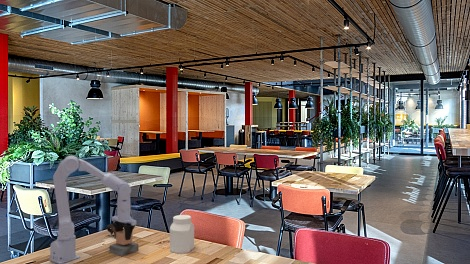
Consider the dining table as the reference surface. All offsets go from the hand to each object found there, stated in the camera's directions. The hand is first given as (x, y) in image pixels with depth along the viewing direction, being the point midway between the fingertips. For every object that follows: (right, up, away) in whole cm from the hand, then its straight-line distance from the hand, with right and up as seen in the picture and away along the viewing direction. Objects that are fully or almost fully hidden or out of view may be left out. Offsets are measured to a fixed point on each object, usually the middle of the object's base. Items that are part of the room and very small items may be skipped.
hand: (123, 238), depth 167 cm
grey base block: (0, -6, 0) cm, 6 cm away
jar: (+26, -6, +3) cm, 27 cm away
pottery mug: (-10, -6, +24) cm, 26 cm away
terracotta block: (0, -2, 0) cm, 2 cm away
